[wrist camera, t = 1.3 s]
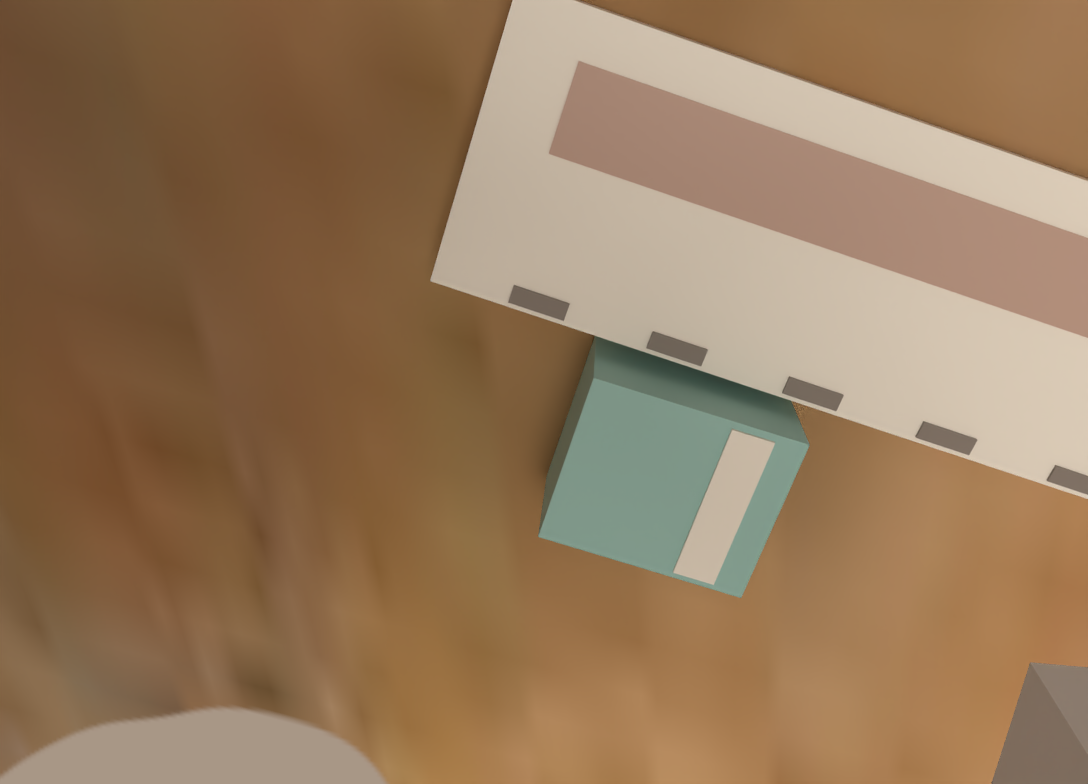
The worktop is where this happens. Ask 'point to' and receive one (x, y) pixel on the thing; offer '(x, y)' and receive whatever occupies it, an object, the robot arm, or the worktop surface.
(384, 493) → the worktop surface
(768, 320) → the slab
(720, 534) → the stub
